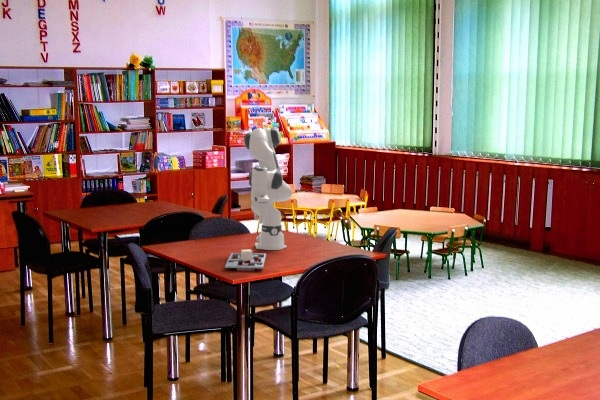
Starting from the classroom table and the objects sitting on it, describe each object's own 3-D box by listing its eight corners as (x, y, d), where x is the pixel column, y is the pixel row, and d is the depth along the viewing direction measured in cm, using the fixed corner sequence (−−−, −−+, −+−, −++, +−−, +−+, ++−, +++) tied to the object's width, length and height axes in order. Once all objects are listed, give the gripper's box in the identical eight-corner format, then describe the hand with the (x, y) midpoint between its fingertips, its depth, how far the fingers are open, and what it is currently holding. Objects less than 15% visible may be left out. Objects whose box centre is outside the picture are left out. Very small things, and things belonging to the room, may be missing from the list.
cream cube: (241, 258, 389) (241, 249, 388) (250, 258, 390) (250, 249, 390) (243, 260, 384) (243, 251, 383) (252, 260, 386) (252, 251, 385)
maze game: (231, 258, 405) (231, 252, 405) (266, 259, 405) (266, 253, 405) (224, 272, 371) (224, 266, 370) (263, 272, 371) (263, 266, 370)
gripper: (248, 193, 398) (248, 218, 400) (258, 199, 379) (257, 225, 381) (259, 193, 400) (259, 217, 402) (269, 199, 381) (269, 225, 383)
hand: (258, 221), depth 391 cm, fingers open, 8 cm apart
